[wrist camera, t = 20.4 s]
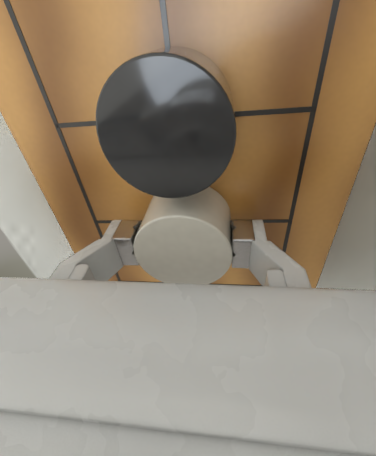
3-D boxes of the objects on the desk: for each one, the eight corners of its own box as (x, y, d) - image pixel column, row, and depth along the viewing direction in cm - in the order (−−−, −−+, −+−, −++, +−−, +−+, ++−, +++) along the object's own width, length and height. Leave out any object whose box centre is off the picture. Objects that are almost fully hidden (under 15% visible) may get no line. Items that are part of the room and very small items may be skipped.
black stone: (235, 39, 9) (240, 43, 6) (232, 164, 11) (234, 198, 9) (110, 52, 9) (72, 60, 7) (136, 167, 12) (116, 200, 10)
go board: (463, -227, 6) (534, -302, 5) (304, 283, 19) (310, 304, 17) (-71, -104, 9) (-129, -131, 7) (104, 277, 21) (95, 295, 19)
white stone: (232, 179, 12) (234, 215, 10) (230, 248, 15) (231, 289, 12) (140, 181, 13) (121, 216, 10) (155, 247, 15) (143, 286, 13)
